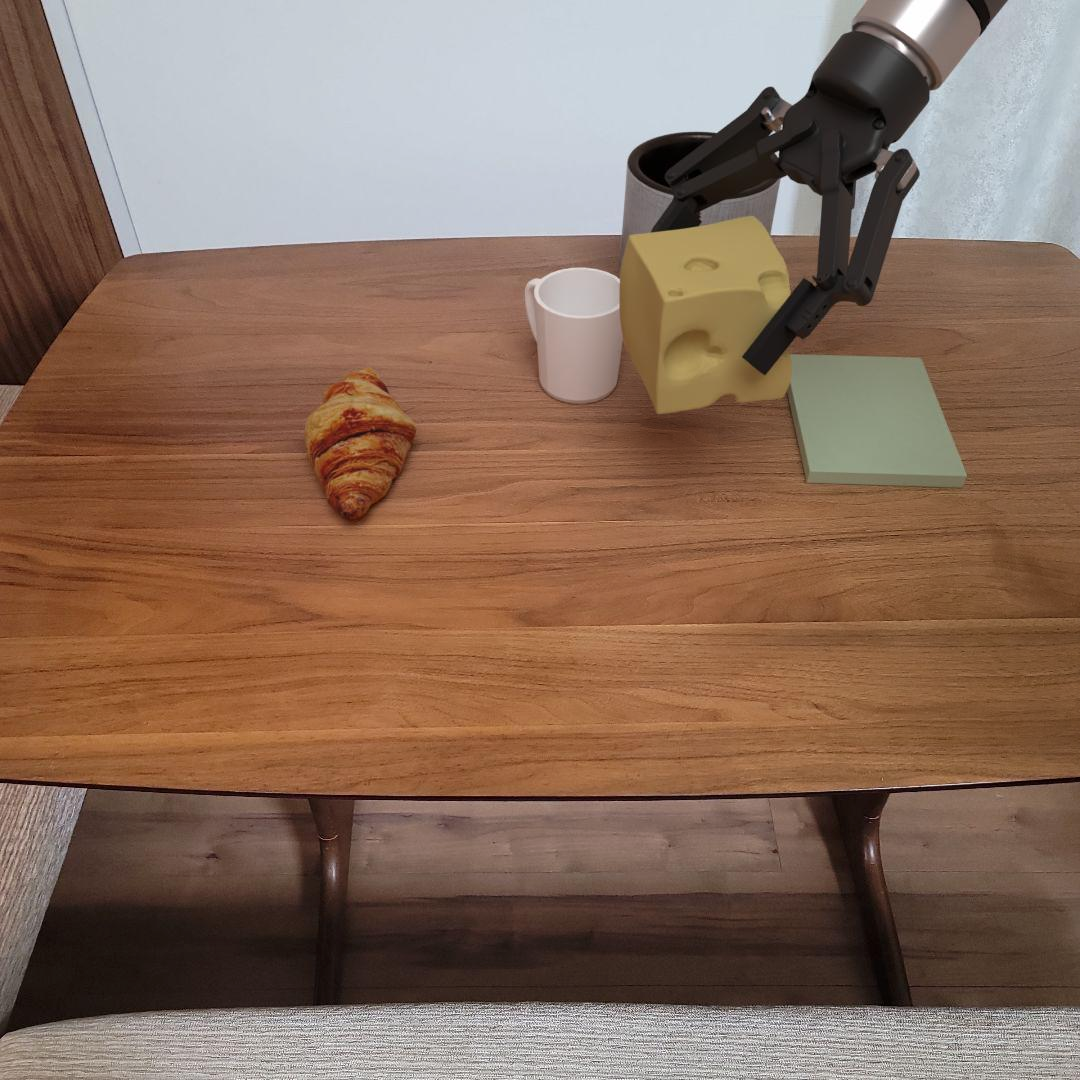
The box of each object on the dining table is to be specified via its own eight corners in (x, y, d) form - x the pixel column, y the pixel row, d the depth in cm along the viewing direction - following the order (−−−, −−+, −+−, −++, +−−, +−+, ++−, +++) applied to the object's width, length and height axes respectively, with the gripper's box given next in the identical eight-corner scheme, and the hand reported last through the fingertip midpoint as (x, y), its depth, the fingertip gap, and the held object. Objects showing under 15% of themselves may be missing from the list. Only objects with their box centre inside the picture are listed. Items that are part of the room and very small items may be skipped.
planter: (634, 342, 100) (645, 204, 88) (604, 265, 111) (611, 134, 99) (777, 328, 101) (806, 192, 90) (734, 254, 112) (755, 124, 101)
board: (962, 488, 84) (967, 475, 83) (806, 483, 84) (809, 471, 83) (916, 369, 96) (921, 357, 95) (781, 365, 97) (783, 353, 96)
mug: (638, 374, 96) (646, 286, 88) (590, 419, 91) (593, 329, 83) (551, 338, 100) (552, 251, 93) (501, 379, 95) (497, 291, 88)
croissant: (345, 414, 97) (295, 359, 92) (426, 372, 94) (380, 313, 89) (331, 561, 82) (271, 505, 77) (427, 516, 79) (371, 455, 74)
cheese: (788, 400, 69) (811, 280, 62) (649, 421, 68) (656, 301, 61) (741, 326, 77) (757, 211, 70) (615, 344, 76) (618, 228, 69)
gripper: (1055, 157, 59) (832, 426, 64) (784, 43, 73) (620, 271, 79) (1034, 88, 53) (790, 390, 58) (744, -21, 67) (569, 230, 73)
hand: (692, 322), depth 69 cm, fingers closed on cheese, 12 cm apart
